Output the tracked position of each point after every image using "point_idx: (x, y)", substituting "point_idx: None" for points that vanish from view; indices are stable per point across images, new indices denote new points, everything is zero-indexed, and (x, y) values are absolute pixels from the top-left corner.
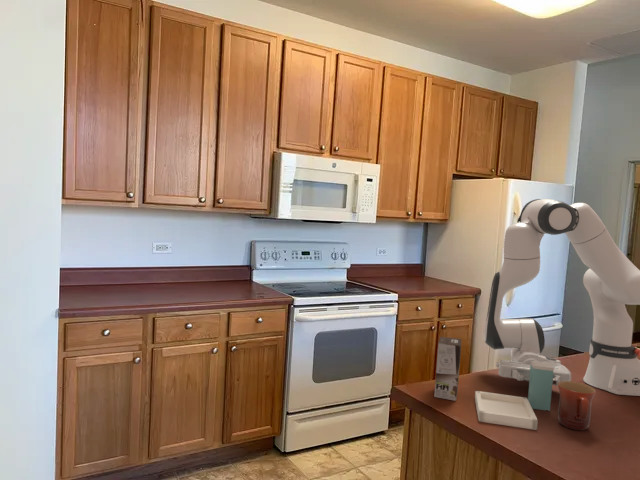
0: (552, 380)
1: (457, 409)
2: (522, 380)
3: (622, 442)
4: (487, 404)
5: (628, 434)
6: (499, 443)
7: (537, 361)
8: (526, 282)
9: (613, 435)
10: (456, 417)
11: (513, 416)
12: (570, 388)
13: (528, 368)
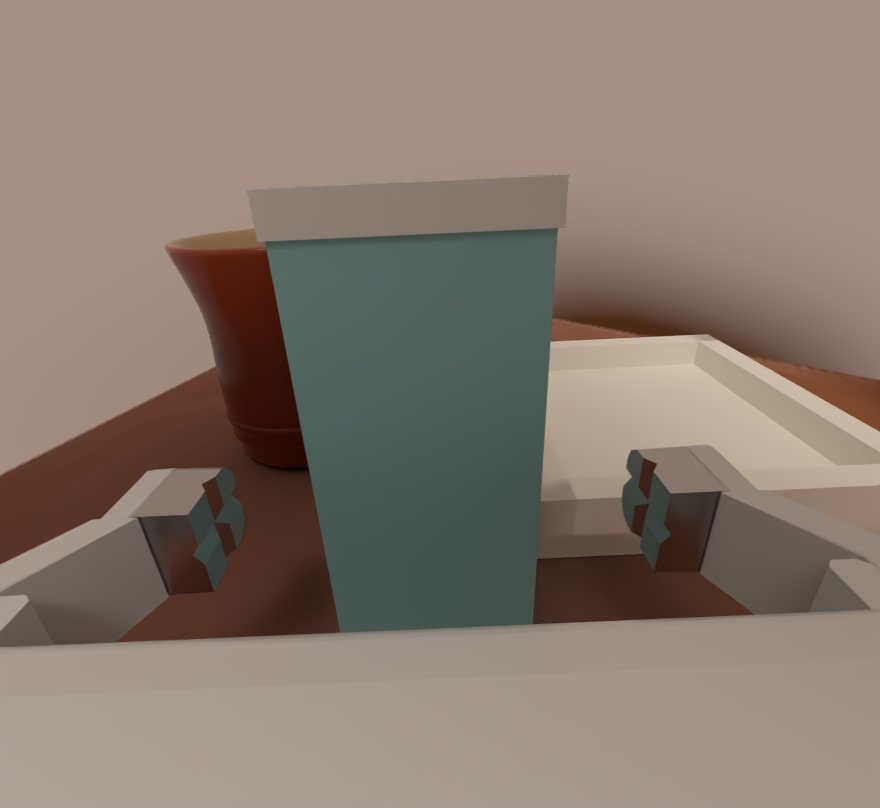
0: (211, 518)
1: (853, 410)
2: (630, 502)
3: (189, 397)
4: (757, 439)
5: (80, 445)
6: (589, 325)
7: (454, 180)
8: None
9: (175, 423)
10: (789, 370)
11: (578, 341)
12: (272, 288)
13: (626, 644)
